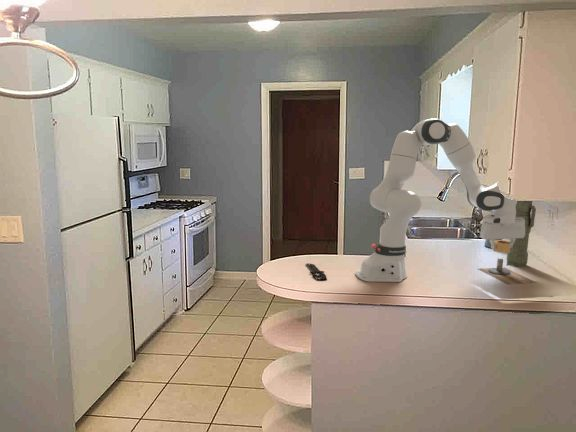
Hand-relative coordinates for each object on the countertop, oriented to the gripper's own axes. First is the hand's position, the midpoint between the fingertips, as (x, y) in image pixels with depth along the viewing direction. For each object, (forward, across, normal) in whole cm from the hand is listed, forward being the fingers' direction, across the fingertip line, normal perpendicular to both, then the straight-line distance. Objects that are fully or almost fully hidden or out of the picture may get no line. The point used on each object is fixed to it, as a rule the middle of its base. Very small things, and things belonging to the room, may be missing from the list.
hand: (501, 248), depth 215 cm
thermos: (+13, -17, -11) cm, 24 cm away
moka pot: (+13, -29, -47) cm, 56 cm away
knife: (+13, +81, -18) cm, 84 cm away
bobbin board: (+12, 0, +5) cm, 14 cm away
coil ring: (+1, 0, 0) cm, 1 cm away
